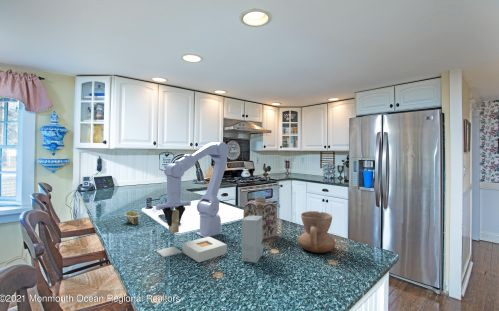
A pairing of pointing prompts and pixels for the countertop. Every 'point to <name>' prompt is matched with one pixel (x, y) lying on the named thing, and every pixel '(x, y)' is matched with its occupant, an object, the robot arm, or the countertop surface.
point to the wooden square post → (174, 222)
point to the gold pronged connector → (132, 217)
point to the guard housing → (204, 249)
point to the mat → (168, 251)
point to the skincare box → (252, 238)
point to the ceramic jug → (316, 232)
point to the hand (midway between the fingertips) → (173, 224)
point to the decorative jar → (263, 215)
